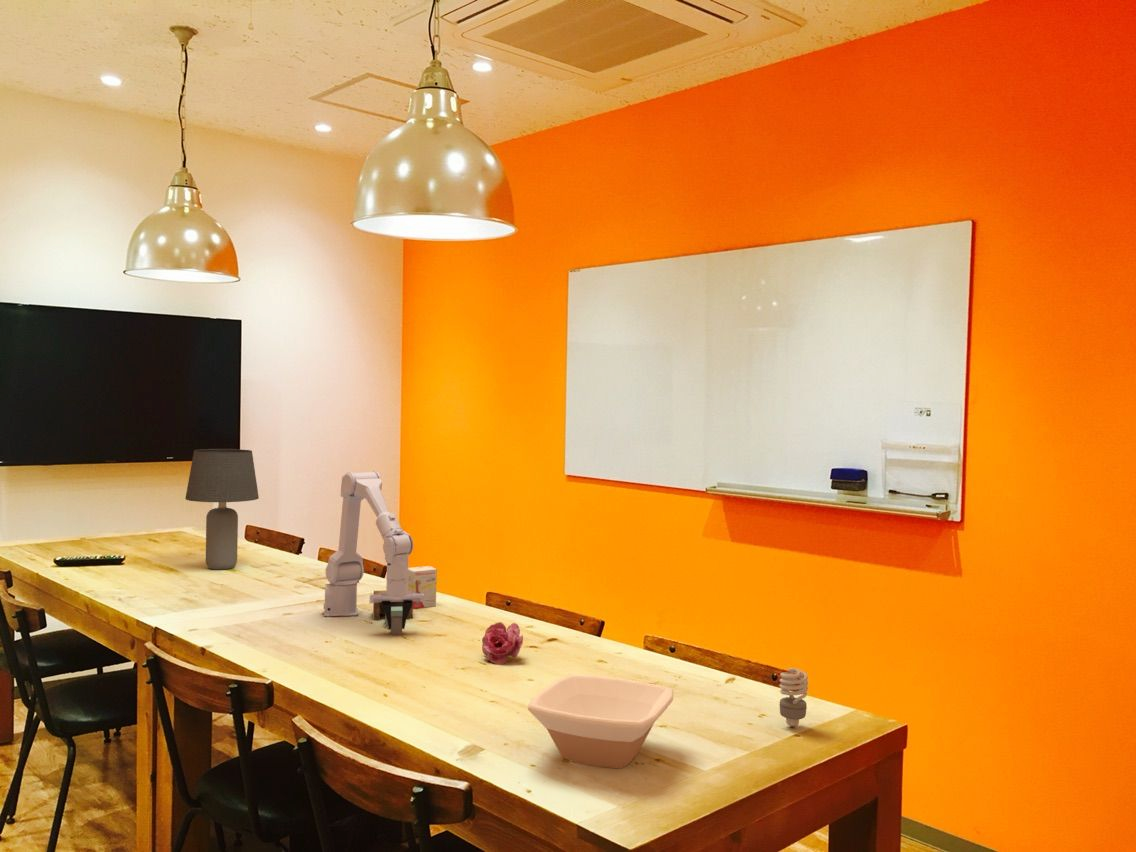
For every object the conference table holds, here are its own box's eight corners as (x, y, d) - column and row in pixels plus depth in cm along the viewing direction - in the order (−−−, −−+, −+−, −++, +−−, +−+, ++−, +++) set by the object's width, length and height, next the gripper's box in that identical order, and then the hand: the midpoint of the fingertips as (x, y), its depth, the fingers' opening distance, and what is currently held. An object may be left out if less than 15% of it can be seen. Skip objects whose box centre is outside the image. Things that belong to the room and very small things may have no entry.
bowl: (515, 766, 164) (517, 707, 164) (565, 722, 187) (567, 670, 187) (644, 790, 156) (646, 727, 156) (680, 741, 179) (682, 686, 179)
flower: (501, 679, 226) (478, 646, 224) (492, 671, 235) (470, 639, 234) (538, 650, 229) (515, 617, 227) (528, 643, 238) (506, 611, 237)
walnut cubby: (374, 619, 268) (374, 596, 268) (373, 613, 276) (373, 590, 276) (412, 618, 270) (413, 595, 270) (410, 612, 278) (411, 590, 278)
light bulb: (774, 722, 191) (776, 664, 190) (801, 722, 191) (803, 664, 191) (783, 732, 185) (785, 672, 185) (810, 732, 186) (812, 672, 185)
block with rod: (387, 634, 252) (387, 618, 251) (385, 622, 265) (385, 607, 265) (405, 634, 253) (406, 617, 253) (402, 622, 266) (403, 606, 266)
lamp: (243, 575, 327) (245, 453, 326) (172, 573, 327) (173, 451, 326) (267, 562, 352) (269, 449, 351) (201, 560, 352) (203, 447, 351)
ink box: (411, 609, 282) (412, 570, 282) (404, 606, 286) (405, 568, 286) (436, 606, 287) (437, 568, 287) (429, 603, 291) (430, 565, 291)
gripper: (370, 582, 247) (369, 632, 248) (425, 581, 251) (424, 631, 251) (369, 576, 254) (368, 626, 255) (423, 576, 258) (422, 624, 258)
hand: (396, 628), depth 253 cm, fingers closed on block with rod, 3 cm apart
